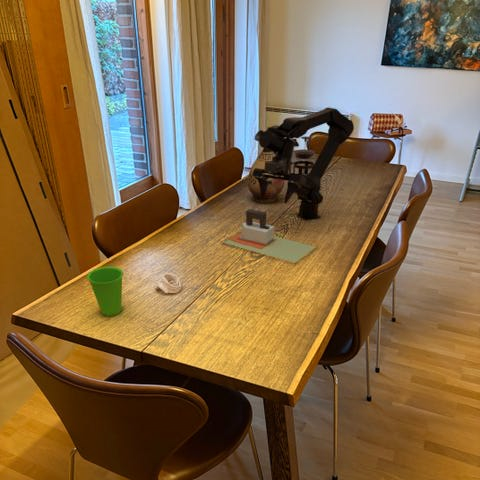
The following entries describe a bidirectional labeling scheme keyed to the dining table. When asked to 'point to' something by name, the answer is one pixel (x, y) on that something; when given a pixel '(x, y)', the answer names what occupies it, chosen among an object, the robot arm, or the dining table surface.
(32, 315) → the dining table surface
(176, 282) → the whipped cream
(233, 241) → the ironing mat
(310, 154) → the french press
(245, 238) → the iron
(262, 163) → the ceramic jug
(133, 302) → the dining table surface
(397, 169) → the dining table surface
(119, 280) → the cup
